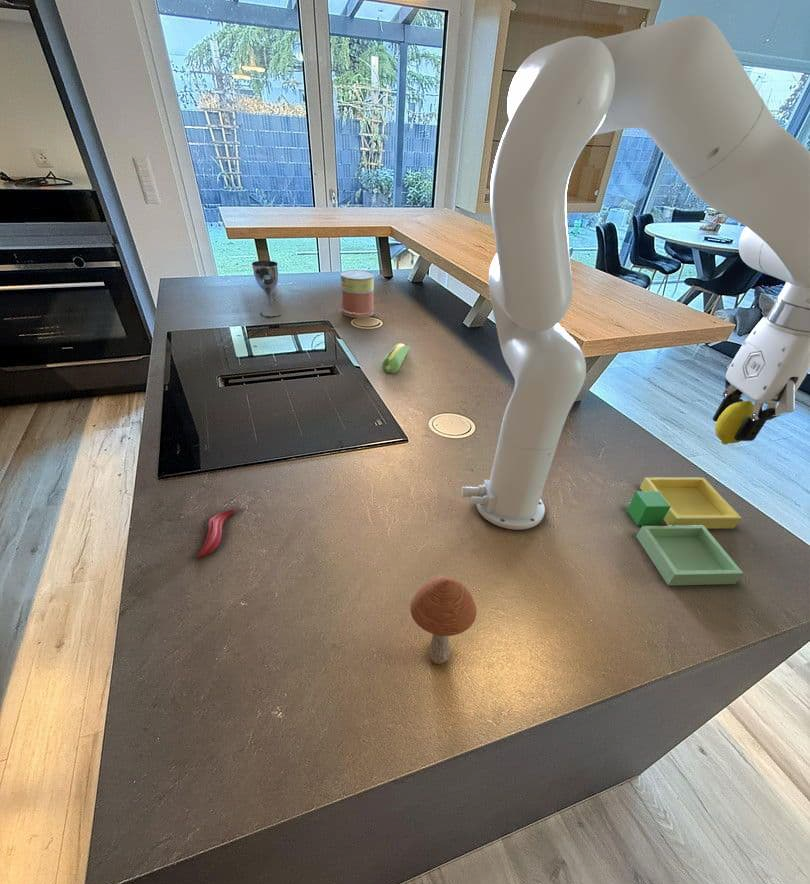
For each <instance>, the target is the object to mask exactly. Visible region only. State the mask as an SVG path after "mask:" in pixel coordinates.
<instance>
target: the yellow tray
mask: <svg viewBox="0 0 810 884" xmlns="http://www.w3.org/2000/svg"><path fill="white" fill-rule="evenodd" d="M639 489H640V491H659V492H660V494H661V495H662V496H663V497H664V499H665V500H666V501H667V502H668V504H669V505H670V506H671V507H670V509H669V510H668V512H667V514H666V516H665V517H664V519H663V521H664V523H665V524H666V526H693V525H699V526H700V525H704V526H705V528H706V529H707V530H708V529H709V530H710V529H715V530H716V529H718V530H719V529H735V528H736V526H737V525H738V524H739V522H740V520H741V519H742V517H741V516H740V514H739V513H738V512H737V511H736V510H735V509H734V508H733V507H732V506H731V504H729V503H728V502H727V501H726V499H725V498H724V497H723V496H722V495H721V494H720V493H719V492H718V491H717V489H715V488H714V487H713V486H712V485H711V484H710V482H709V481H708V480H707V479H706V478H705V477H644V478H643V481H642V482H641V484H640V486H639Z"/></svg>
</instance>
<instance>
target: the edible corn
mask: <svg viewBox="0 0 810 884" xmlns="http://www.w3.org/2000/svg"><path fill="white" fill-rule="evenodd" d="M410 348H411V346H410V345H409V344H406V345H405V344H404V343H399V342H396V343H395V345H394V346H393V347H392V349H390V351H388V353H387V354H386V355H385V356H384V358H383V359H382V362H381V369H382V371H383V372H385V373H387V374H394V373H395V374H396V373H398V372H399V370H400V368H401V366H402V365H403V362H404V360H405V358H406V356H407V355H408V352H409V350H410Z"/></svg>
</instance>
